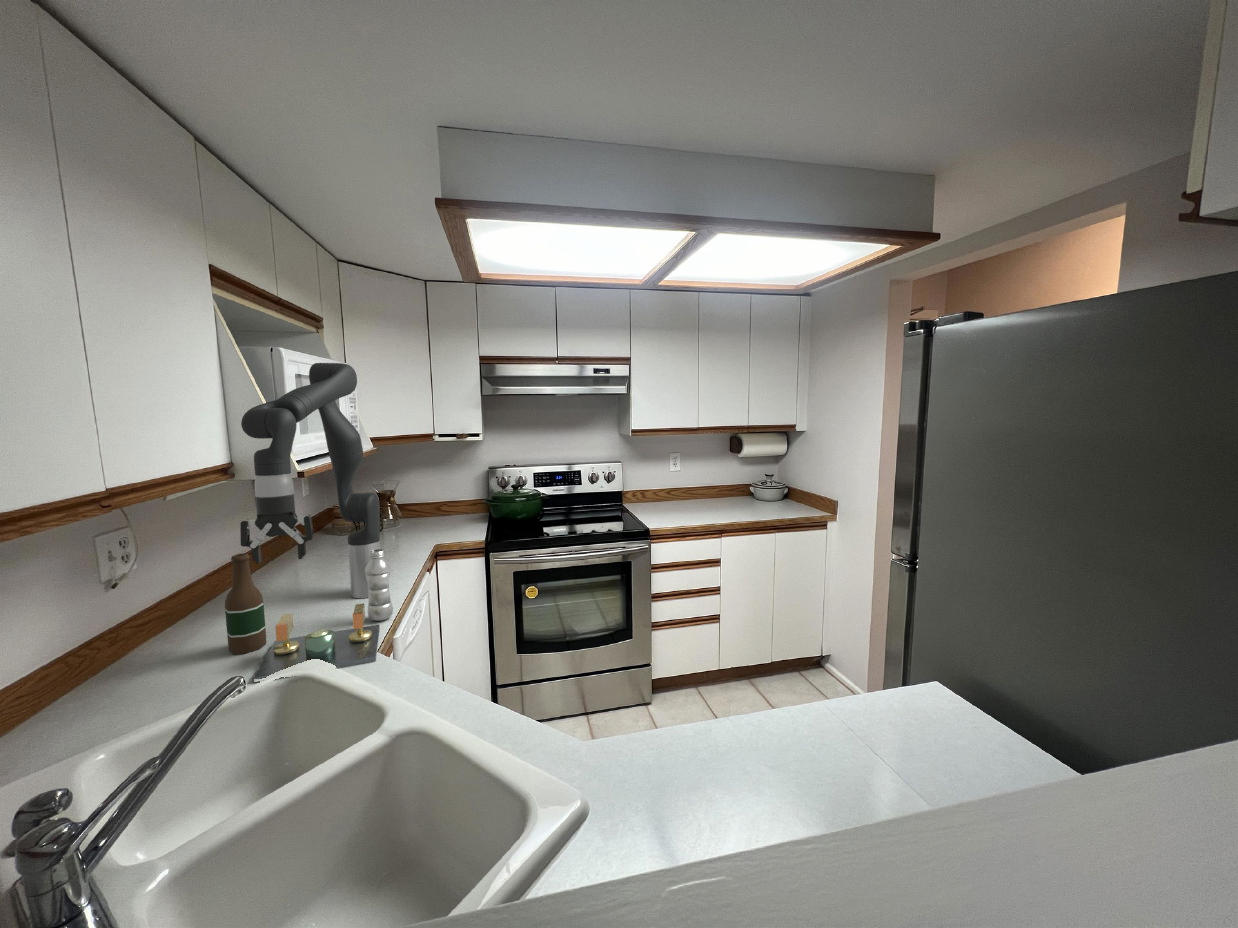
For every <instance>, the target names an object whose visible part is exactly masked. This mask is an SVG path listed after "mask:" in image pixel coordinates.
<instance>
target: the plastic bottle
mask: <svg viewBox="0 0 1238 928" xmlns="http://www.w3.org/2000/svg"><path fill="white" fill-rule="evenodd" d="M369 553H370V556H369V558H370V561H369V562H368V564H367V566H366V567H365V575H366V579H367V583H368V591H369V597H368V603H367V610H366V611H367V616H368V618H369V620H370V621H372V622H373V621H374V622H381V621H385V620H389V618H391V617H392V615H393V614H394V613H393V612H394V607H393V603H392V599H391V593H390V574H391V572H390V571H391V566H390V564H389V562H388V561H387V560H386V559H385V558H384V557H385V551H384V549H383V548H382V549H381V548H380V549H375V550H371V551H370V552H369Z"/></svg>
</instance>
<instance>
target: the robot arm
mask: <svg viewBox="0 0 1238 928" xmlns="http://www.w3.org/2000/svg"><path fill="white" fill-rule="evenodd" d="M308 377H309V379H308V380H309V384H307V385H303V386H299V387H297V388H294V389H292V390H289V392H286V393H285V394H283V395H282V396H280V397H278V399H275V400H274V399H273V400H271V401H267V402H265V403H264V402H263V403H261V404H258V405H256V406H253V407H251V408H249V409H248V410H247V411H246V412H245V413H244V414H243V416H242V418H241V423H240V425H241V428H242V431H243V433H244V434H245V435H247V436H248V437H251V438H252V439H258V440H259V439H267V440H268V439H271V440H272V441H271V443H270V445H269V447H268V448H267V447H266V448H262V449H259V450H256V451H255V452H254V455H253V464H254V475H255V476H254V489H253V490H254V497H255V508H256V519H250V520H249V519H248V518H246V519H243V520H242V521H241V522H240V523H239V524H240V526H239V527H240V532H239V533H240V546H241V547H243V548H244V547H246V548H247V547H248V548H250V550H251V560H252V562H255V565H258V564H261V563H262V559H263V558H262V549H261V548H262V547H261V546H260V544H261V542H262V541H263V540H264V539H265V537H269V538H273V537H274V538H275V537H277V536H279V537H285V536H287V535H288V536H290V537H291V538H292V539H294V540H295V542H297V558H298V560H302V559H304V557H305V556H306V555H307V547H306V546H307V545H306V543H307V542H309V541H312V540H313V538H314V537H315V534H314V528H313V520H312V515H311V514H309V513H308V514H305V515H303V516H297V513H296V505H295V503H296V502H295V490H294V480H293V476H292V475H293V474H292V468H291V467H292V466H291V453H292V449H293V445H294V440H295V436H296V433H297V425H298V424H297V423H300V422H302V421H303V420H304V419H305V418H307V417H308V416H309V415H311V414H312V413H313V412H315V411H317V410H318V412H319V416H320V419H321V423H322V426H323V432H324V435H325V441H326V446H327V451H328V455H329V459H330V462H331V466H332V470H333V475H334V479H335V486H336V493H337V501H338V502H337V503H338V510H339V513H340V516H341V518H342V520H343V521H344V522H347V523H358V522H359V523H360V522H361V523H362V522H363V523H364V527H362V528H361V529H359V530H356V531H354V532H351V533H350V534H348V536H347V548H348V549H347V550H348V564H349V566H348V567H349V579H350V594H351V597H352V598H355V599H366V598H369V591H368V583H367V579H366V575H365V567H366V566H367V564H368V562H369V561H370V558H369V556H370V553H369V552H370V551H371V550H375V549H381V539H380V537H381V536H380V532H381V524H380V520H381V518H380V516H381V511H380V510H381V508H380V507H381V506H380V499H379V495H377V494H376V493H374V492H354V491H353V479H354V476H355V474H356V473H357V471H358V469H359V468H360V466H361V463H362V461H363V458H364V448H363V443H362V439H361V434H360V433H359V431H358V430H357V429H356V427H355V426H354V425H353V424H352V422H351V421H350V420H349V419H348V418H347V417H346V416H345V415H344V414H343V413H342V411H341V410H340V408H339V406H338V405H337V402H336V401H337V400H340V399H342V398H344V397H347V396H349V395H351V394H352V393H353V392H355V390H356V388H357V385H358V376H357V373H356V371H355V369H354V367H352V366H351V365H350V364H346V363H343V362H342V363H341V362H339V363H338V362H315V363H313V364H311V366H310V368H309V371H308ZM298 522H299V523H300V525H302V526H304V531H305V532H304V533H305V535H303V534H302V533H301V531H299V530H298V529H297V528H296V525H297V523H298ZM254 526H256V528H258V529H259V530H260V532H258V534H257V536H256V537H255V538H254V540H251V533H250V532H251V529H252V528H254Z"/></svg>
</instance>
